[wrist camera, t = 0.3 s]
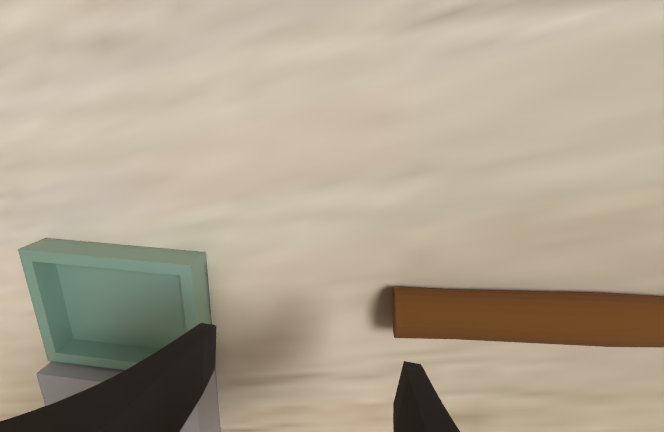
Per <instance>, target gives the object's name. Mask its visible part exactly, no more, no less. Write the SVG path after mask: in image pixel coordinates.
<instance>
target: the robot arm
mask: <svg viewBox="0 0 664 432" xmlns="http://www.w3.org/2000/svg"><path fill="white" fill-rule="evenodd" d="M215 353H216V325H211V324H205V323H200V324H198V325H197V326H195V327H194V328H192V329H191V330H189V331H188V332H186V333H185V334H183V335H182V336H180V337H179V338H177V339H175V340H174V341H172V342H171V343H169V344H168V345H166V346H165V347H163V348H162V349H160V350H158V351H157V352H155V353H154V354H152V355H150V356H149V357H147V358H145V359H144V360H142V361H140V362H139V363H137V364H135V365H133V366H132V367H130V368H128V369H126V370H125V371H123V372H121V373H119V374H117V375H115V376H113V377H111V378H109V379H107V380H105V381H103V382H101V383H99V384H97V385H95V386H93V387H91V388H88V389H86V390H84V391H81V392H79V393H77V394H74V395H72V396H70V397H67V398H65V399H63V400H60V401H58V402H55V403H53V404H50V405H47V406H45V407H42V408H39V409H36V410H34V411H31V412H28V413H25V414H22V415H19V416H16V417H13V418H10V419H7V420H4V421H0V432H180V430H181V429H182V427H183V426H184V424H185V422H186V421H187V419H188V418H189V416H190V414H191V413H192V411H193V410H194V408H195V406H196V405H197V403H198V401H199V400H200V398H201V396H202V395H203V393H204V391H205V389H206V387H207V385H208V383H209V380H210V378H211V376H212V374H213V372H214V370H215ZM393 423H394V432H460V431H459V429H458V428H457V426H456V425H455V423H454V422H453V420H452V418H451V417H450V415H449V414H448V412H447V410H446V409H445V407H444V405H443V404H442V402H441V400H440V398H439V397H438V395H437V393H436V391H435V390H434V388H433V386H432V384H431V382H430V380H429V378H428V376H427V375H426V373H425V371H424V369H423V367H422V366H421V364H416V363H411V362H405V361H404V363H403V368H402V372H401V376H400V380H399V384H398V388H397V392H396V396H395V400H394V413H393Z"/></svg>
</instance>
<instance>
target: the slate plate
mask: <svg viewBox="0 0 664 432" xmlns="http://www.w3.org/2000/svg"><path fill="white" fill-rule="evenodd" d="M123 371H125V370H119V369H112V368H104V367H96V366H88V365H80V364H72V363H64V362H56V361H52V362H50V363H49V364H48V365H47V366H45V367H44V368H43V369H42V370H40V371H39V372H38V373H37V378H38V381H39V385H40V388H41V392H42V395H43V399H44V402H45V406H47V405H50V404H53V403H55V402H58V401H60V400H63V399H65V398H67V397H70V396H72V395H74V394H77V393H79V392H81V391H84V390H86V389H88V388H91V387H93V386H95V385H97V384H99V383H101V382H103V381H105V380H107V379H109V378H111V377H113V376H115V375H117V374H119V373H121V372H123ZM180 432H220V420H219V408H218V396H217V383H216V371H215V370H214V372H213V374H212V376H211V378H210V380H209V383H208V385H207V387H206V389H205V391H204V393H203V395H202V396H201V398H200V400H199V401H198V403H197V405H196V406H195V408H194V410H193V411H192V413H191V414H190V416H189V418H188V419H187V421H186V422H185V424H184V426H183V427H182V429H181V430H180Z"/></svg>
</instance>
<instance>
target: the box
mask: <svg viewBox="0 0 664 432" xmlns="http://www.w3.org/2000/svg"><path fill="white" fill-rule="evenodd" d="M18 251H19V255H20V259H21V262H22V266H23V270H24V274H25V277H26V281H27V285H28V288H29V292H30V296H31V300H32V303H33V307H34V311H35V314H36V318H37V322H38V326H39V329H40V333H41V337H42V340H43V344H44V348H45V352H46V355H47V359H48V361H56V362H64V363H72V364H80V365H88V366H96V367H104V368H112V369H119V370H126V369H128V368H130V367H132V366H133V365H135V364H137V363H139V362H140V361H142V360H144V359H145V358H147V357H149V356H150V355H152V354H154V353H155V352H157V351H158V350H160V349H162V348H163V347H165V346H166V345H168V344H169V343H171V342H172V341H174V340H175V339H177V338H179V337H180V336H182V335H183V334H185V333H186V332H188V331H189V330H191V329H192V328H194V327H195V326H197V325H198V324H200V323H205V324H211V325H212V322H211V310H210V298H209V286H208V274H207V262H206V252H196V251H185V250H173V249H162V248H151V247H140V246H128V245H117V244H106V243H95V242H83V241H72V240H61V239H49V238H44V239H42V240H39V241H37V242H35V243H32V244H30V245H27V246H25V247H22V248H20V249H18Z"/></svg>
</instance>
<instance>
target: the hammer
mask: <svg viewBox="0 0 664 432" xmlns="http://www.w3.org/2000/svg"><path fill="white" fill-rule="evenodd" d="M393 333H394V338H427V339H463V340H484V341H504V342H524V343H544V344H564V345H585V346H605V347H664V297H662V296H646V295H629V294H613V293H589V292H543V291H498V290H452V289H432V288H412V287H393Z"/></svg>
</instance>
